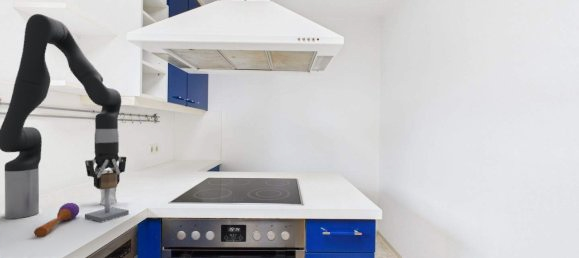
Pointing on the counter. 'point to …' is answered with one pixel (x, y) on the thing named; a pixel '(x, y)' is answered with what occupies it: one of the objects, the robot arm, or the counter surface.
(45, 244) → the counter surface
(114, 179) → the bead
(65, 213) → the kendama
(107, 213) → the rod stand
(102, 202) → the beer glass
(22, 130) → the robot arm
